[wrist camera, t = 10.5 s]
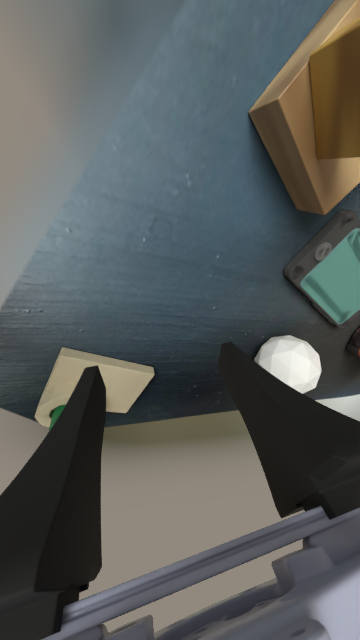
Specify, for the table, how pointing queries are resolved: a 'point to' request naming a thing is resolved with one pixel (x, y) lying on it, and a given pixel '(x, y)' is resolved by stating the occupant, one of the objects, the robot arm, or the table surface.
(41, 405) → the box
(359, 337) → the stuffed fox
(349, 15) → the brown flat block
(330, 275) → the smartphone
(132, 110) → the table surface
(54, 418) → the release button
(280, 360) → the ornament
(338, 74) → the thumb turn
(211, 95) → the table surface
